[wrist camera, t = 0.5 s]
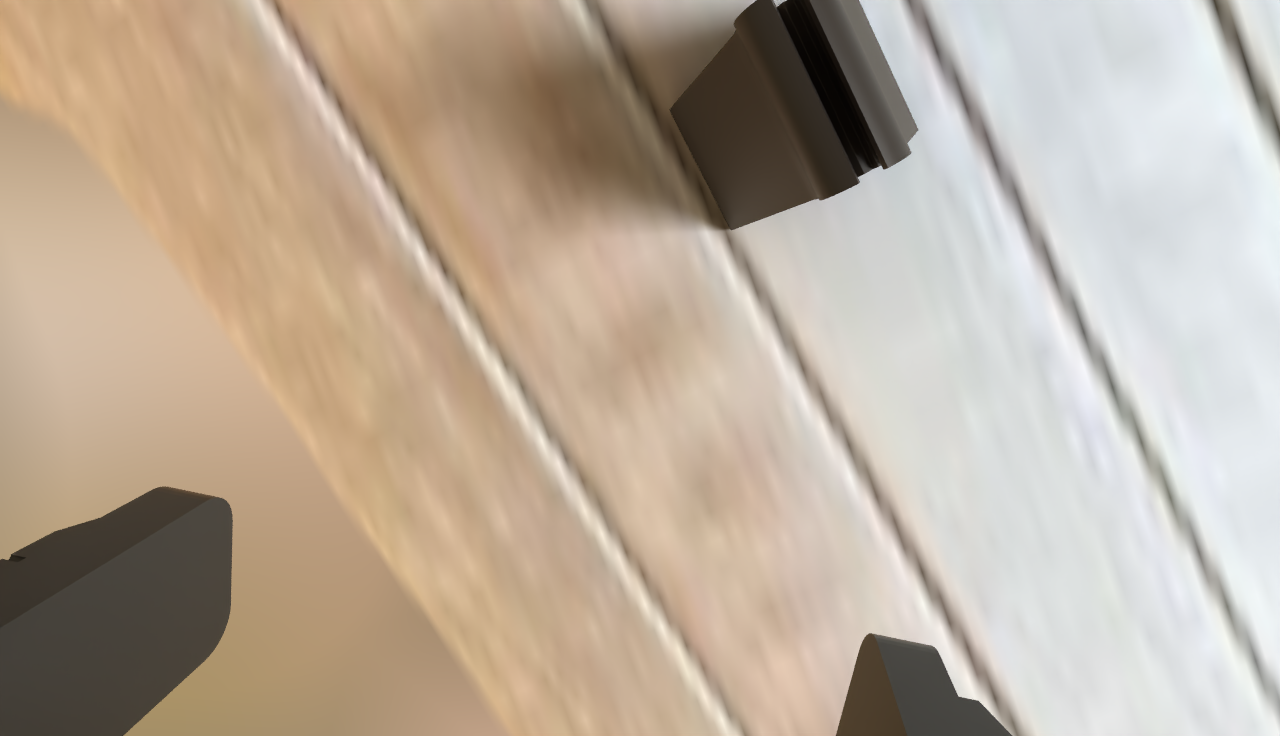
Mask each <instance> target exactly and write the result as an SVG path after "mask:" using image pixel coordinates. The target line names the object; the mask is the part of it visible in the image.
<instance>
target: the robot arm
mask: <svg viewBox="0 0 1280 736" xmlns="http://www.w3.org/2000/svg"><path fill="white" fill-rule="evenodd" d="M232 522H233V520H232V511H231V508H230V505H229V504H228V503H227V501H226V500H224V499H222V498H219V497H215V496H210V495H204V494H199V493H195V492H190V491H185V490H181V489H176V488H171V487H158V488H155V489H153V490H151V491H149V492H147V493H145V494H144V495H142V496H140V497H138V498H136V499H134V500H132V501H131V502H129V503H127V504H125V505H123V506H121V507H119V508H118V509H116V510H114V511H112V512H110V513H108V514H106V515H105V516H103V517H101V518H98V519H95V520H91V521H88V522H85V523H82V524H78V525H75V526H72V527H68V528H65V529H62V530H58V531H55V532H53V533H51V534H49V535H47V536H45V537H43V538H41V539H39V540H38V541H36V542H34V543H32V544H30V545H28V546H26V547H24V548H23V549H20V550H19V551H17V552H15V553H13V554H11V557H10V559H9V560H5V559H1V560H0V736H123V735H124V734H125V733H127V732H128V731H129V730H130V729H131V728H132V727H133V726H134V725H135V724H136V723H137V722H139V721H140V720H141V719H142V718H143V717H144V716H145V715H146V714H147V713H148V712H149V711H150V710H151V709H153V708H154V707H155V706H156V705H157V704H158V703H159V702H160V701H161V700H162V699H164V698H165V697H166V696H167V695H168V694H169V693H170V692H171V691H172V690H173V689H174V688H175V687H177V686H178V685H179V684H180V683H181V682H182V681H183V680H184V679H185V678H186V677H187V676H189V675H190V674H191V673H192V672H193V671H194V670H195V669H196V668H197V667H198V666H199V665H201V664H202V663H203V662H204V661H205V660H206V659H207V657H209V656H210V654H211V653H212V652H213V651H214V649H215V648H216V646H217V645H218V643H219V641H220V639H221V637H222V635H223V633H224V631H225V628H226V625H227V622H228V619H229V614H230V606H231V568H232V567H231V566H232ZM836 736H1012V735H1011V734H1010V733H1009V732H1008V731H1007V730H1006V729H1005V728H1004V727H1003V726H1002V725H1001V724H1000V723H999V722H998V721H997V720H996V718H995V717H994V716H993V715H992V714H991V713H990V712H989V711H988V710H987V709H986V708H985V707H984V706H983V705H982V704H981V703H980V702H979V701H976V700H972V699H967V698H962V697H958V695H957V693H956V690H955V688H954V686H953V684H952V681H951V679H950V677H949V675H948V673H947V670H946V668H945V666H944V664H943V661H942V659H941V657H940V655H939V653H938V651H937V650H936V648H935V647H933V646H930V645H925V644H920V643H915V642H910V641H906V640H901V639H896V638H891V637H886V636H881V635H876V634H872V633H870V634H868V635H867V636H866V637H865V638H864V640H863V642H862V644H861V647H860V650H859V653H858V657H857V661H856V664H855V668H854V672H853V675H852V679H851V682H850V686H849V690H848V693H847V697H846V701H845V704H844V708H843V712H842V715H841V719H840V723H839V726H838V730H837V734H836Z"/></svg>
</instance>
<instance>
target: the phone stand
mask: <svg viewBox="0 0 1280 736" xmlns="http://www.w3.org/2000/svg"><path fill="white" fill-rule="evenodd" d="M734 26H735V28H736V31H735V33H734V35H733V36H732V37H731V39H730V40H729V41H728V42H727V43H726V44H725V46H724V47H723V48H722V49H721V50H720V51H719V53H718V54H717V55H716V56H715V57H714V58H713V60H712V61H711V62H710V63H709V64H708V65H707V67H706V68H705V69H704V70H703V71H702V72H701V74H700V75H699V76H698V77H697V78H696V79H695V81H694V82H693V83H692V84H691V85H690V86H689V88H688V89H687V90H686V91H685V92H684V93H683V95H682V96H681V97H680V98H679V99H678V100H677V102H676V103H675V104H674V105H673V106H672V108H671V109H670V112H671V114H672V116H673V118H674V120H675V122H676V124H677V126H678V128H679V130H680V132H681V134H682V135H683V137H684V139H685V141H686V143H687V145H688V147H689V149H690V151H691V153H692V155H693V157H694V159H695V161H696V163H697V165H698V167H699V169H700V171H701V173H702V175H703V177H704V179H705V180H706V182H707V184H708V186H709V188H710V190H711V192H712V194H713V196H714V198H715V200H716V202H717V204H718V206H719V208H720V210H721V212H722V214H723V216H724V218H725V220H726V222H727V223H728V225H729V227H730V229H731V230H734V229H736V228H739V227H742V226H744V225H747V224H750V223H752V222H755V221H758V220H760V219H763V218H766V217H768V216H771V215H774V214H776V213H779V212H782V211H785V210H787V209H790V208H793V207H795V206H798V205H801V204H803V203H806V202H809V201H811V200H814V199H818V198H819V200H824V199H826V198H829V197H831V196H834V195H836V194H838V193H840V192H842V191H845V190H847V189H849V188H851V187H853V186H855V185H857V184H859V183H860V181H859V179H858V177H859V176H861V175H863V174H865V173H867V172H869V171H870V170H872V169H874V168H877V167H879V166H881V165H882V167H883V170H884V169H887V168H889V167H891V166H893V165H894V164H896V163H898V162H899V161H901V160H903V159H904V158H906V157H907V156H909V155H910V154H911V151H910V149H909V146H908V144H907V143H908V142H909V140H910V139H911V138H912V137H913V136H914V135H915V133H916V132H917V131H918V128H917V126H916V124H915V122H914V119H913V117H912V115H911V113H910V111H909V108H908V106H907V104H906V102H905V100H904V98H903V95H902V93H901V91H900V89H899V87H898V85H897V82H896V80H895V78H894V76H893V74H892V71H891V69H890V67H889V65H888V63H887V61H886V58H885V56H884V54H883V52H882V50H881V47H880V45H879V43H878V41H877V39H876V37H875V34H874V32H873V30H872V28H871V26H870V24H869V21H868V19H867V17H866V15H865V13H864V10H863V8H862V6H861V4H860V2H859V0H787V1H785V2H783V3H782V4H780V5H779V6H778V7H776V5H775V3H774V1H773V0H757V1H755V2H754V3H753V4H751V5H750V6H749V7H748V8H747V9H745V10H744V11H743V12H742V13H741V14H740V15H739V16H738V17H737V18H736V20H735V21H734Z"/></svg>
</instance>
